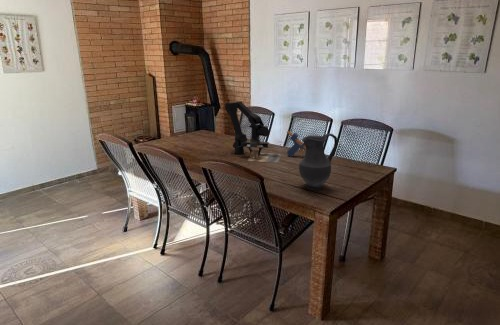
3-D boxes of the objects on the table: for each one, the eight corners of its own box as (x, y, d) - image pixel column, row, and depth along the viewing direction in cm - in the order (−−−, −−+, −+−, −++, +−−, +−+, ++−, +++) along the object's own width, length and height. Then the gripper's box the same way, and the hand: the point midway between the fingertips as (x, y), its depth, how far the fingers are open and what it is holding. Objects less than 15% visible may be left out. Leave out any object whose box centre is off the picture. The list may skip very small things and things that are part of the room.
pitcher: (294, 183, 198) (296, 131, 189) (327, 180, 202) (330, 130, 193) (305, 194, 181) (308, 139, 172) (341, 191, 186) (345, 137, 177)
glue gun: (309, 172, 247) (323, 157, 241) (275, 146, 246) (288, 130, 240) (310, 169, 252) (323, 154, 246) (277, 143, 252) (289, 128, 245)
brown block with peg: (250, 159, 236) (250, 152, 234) (253, 155, 245) (253, 149, 243) (256, 160, 235) (256, 153, 233) (259, 156, 244) (259, 149, 243)
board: (247, 162, 235) (247, 157, 234) (251, 157, 248) (251, 152, 247) (277, 164, 231) (278, 159, 229) (280, 158, 244) (280, 153, 243)
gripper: (239, 136, 231) (239, 158, 235) (267, 137, 227) (266, 160, 232) (243, 132, 241) (243, 154, 246) (269, 133, 237) (269, 155, 242)
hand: (255, 156), depth 241 cm, fingers closed on brown block with peg, 4 cm apart
